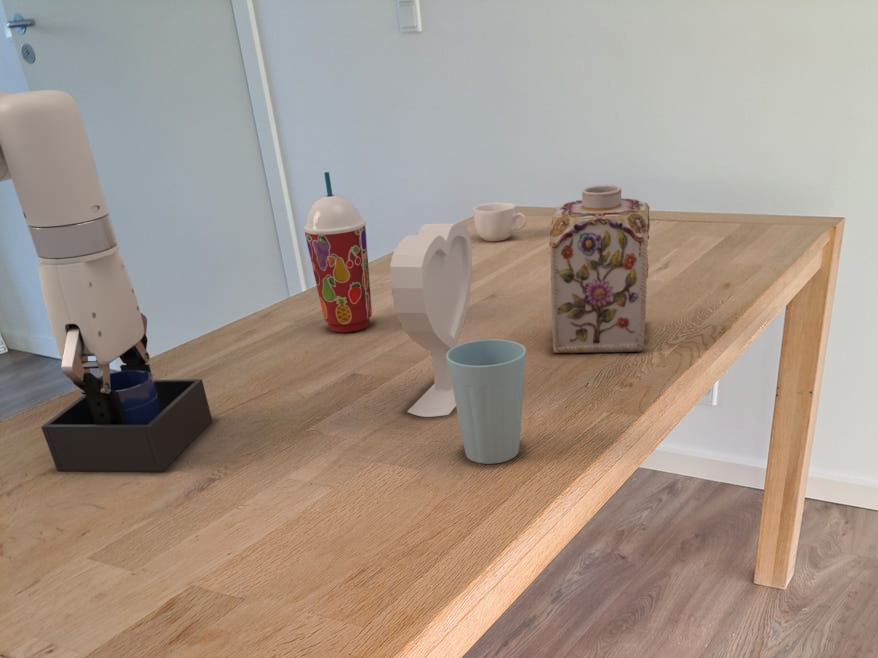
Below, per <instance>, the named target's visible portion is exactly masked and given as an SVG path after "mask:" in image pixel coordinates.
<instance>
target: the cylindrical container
mask: <svg viewBox="0 0 878 658" xmlns="http://www.w3.org/2000/svg"><path fill="white" fill-rule="evenodd" d="M151 373H152V372H151ZM151 373H150V372H148V371H145V370H122V371H121V370H116V371H111V372H110V384H111V390H116V393H117V396H118V399H119V403H120V406H121V409H122V412H123V415H124V419H125V422H126V425H147V424H149V423H150V422H151V421H152V420H153V419H154V418H155V417H156V416H157V415H158V414H160V413H161V412H162V407H161V403H160V400H159V396H158V393H157V389H156V386H155V382H154V380H155V379H154V375H153V374H151ZM96 377H97V378H98V379H99V376H96Z"/></svg>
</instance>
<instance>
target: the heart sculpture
mask: <svg viewBox="0 0 878 658" xmlns="http://www.w3.org/2000/svg"><path fill="white" fill-rule="evenodd" d="M470 233H471V232H470V229H469V228H468V227H467V225H465V224H464V223H439V222H438V223H437V222H436V223H430V222H429V223H425V224H422V225H421V226H420V229H419V230H418V233H417V234H407V235H405V236H404V237H403V238H402V239H401V241H400V242H399V243H398V244H397V246H396V248H395V249H394V252H393V253H392V256H391V260H390V265H389V278H390V289H391V296H392V301H393V305H394V310H395V314H396V317H397V319H398V321H399V323H400V326H401V328H402V330H403V332H404V333H405V334H406V335H407V336H408V337H409V339H410V340H411V341H412V342H415V344H417V345H419V346H420V347H422V348H423V349H425V350H426V351H427V352H428V351H429V352H430V351H431V359H432V360H431V362H432V370H433V380H434V383H433V384H432V385H431V387H429V388H428V389H427V390H426V391H425V393H423V395H422V396H421V397H420V398H419V399H418V400H417V401H416V402H415V403H414V404H413V405H412V406H411V407H410V408H409V409H408V410H407V413H409V414H411V415H414V416H418V417H423V418H430V417H431V418H433V417H443V416H448V415H450V414H451V413H452V411H453V410H454V409H455V408H457V407H456V402H455V397H454V392H453V387H452V382H451V378H450V375H449V370H448V365H447V360H446V354H447V352H448V351H449V350H450V349H451V348H453V347H455V346H457V345H459V340H460V337H461V334H462V330H463V327H464V324H465V320H466V316H467V312H468V308H469V303H470V297H471V288H472V279H473V250H472V241H471V234H470Z"/></svg>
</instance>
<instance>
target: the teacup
mask: <svg viewBox="0 0 878 658" xmlns="http://www.w3.org/2000/svg"><path fill="white" fill-rule="evenodd" d="M472 212H473V213H472V214H473V221H474V227H475V230H476V232H477V234H478V236H479V237H480V238H481V239H483V240H484V241H487V242H501V241H505V240H508V239H509V238H510V237H511V236H512V235H513V234H514V232H517V231H519V230H521V229H523V228H524V227H525V226H526V223H527V218H526V216H525V214H524V213H522V212H517V205H516V204H515V203H512V202H487V203H480V204H478V205H475V206H474V207H473V208H472ZM518 217H522V224H521V225H519V226H516V225H517V219H518Z"/></svg>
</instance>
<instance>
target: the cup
mask: <svg viewBox="0 0 878 658" xmlns="http://www.w3.org/2000/svg"><path fill="white" fill-rule="evenodd" d="M526 359H527V348H526V347H525V346H524V345H523V344H521V343H519V342H518V341H517V342H516V341H513V340H508V339H498V338H497V339H496V338H491V339H490V338H487V339H478V340H477V339H476V340H471V341H467V342H463V343H460V344H457V346H455V347H453V348H451V349H450V350H449V351H448V352H447V354H446V360H447V365H448V370H449V375H450V378H451V382H452V387H453V392H454V397H455V402H456V407H455V408H456V412H457V418H458V423H459V428H460V433H461V437H462V443H463V448H464V452H465V457H466V458H467V459H468V460H470V461H471V462H473V463H478V464H482V465H483V464H484V465H493V464H495V465H496V464H501V463H505V462H508V461H510V460H512V459H514V458H515V457H517V455H518V454H519V453H520V443H521V442H520V441H521V431H522V416H523V413H522V412H523V403H524V402H523V401H524V386H525V372H526V361H527V360H526Z"/></svg>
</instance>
